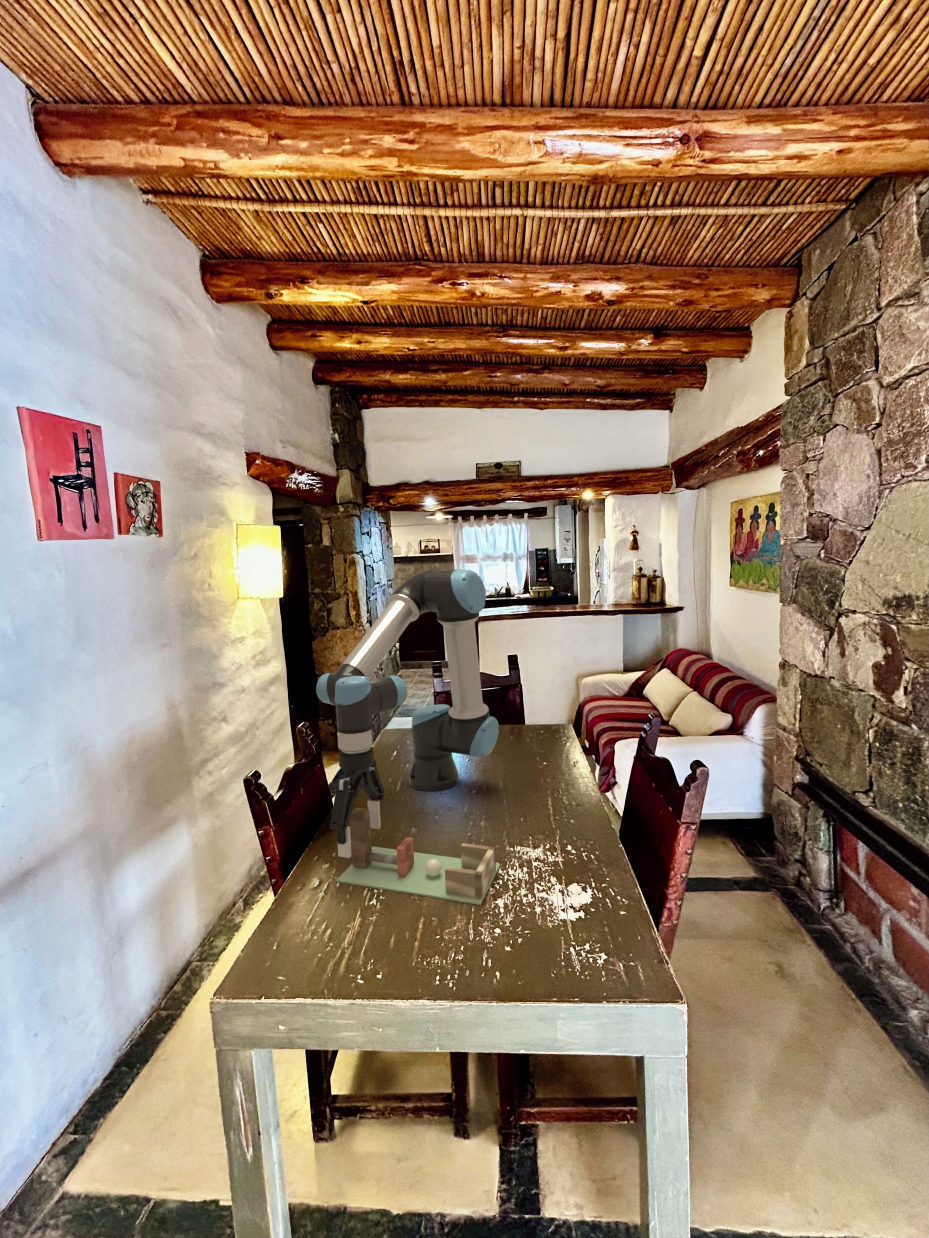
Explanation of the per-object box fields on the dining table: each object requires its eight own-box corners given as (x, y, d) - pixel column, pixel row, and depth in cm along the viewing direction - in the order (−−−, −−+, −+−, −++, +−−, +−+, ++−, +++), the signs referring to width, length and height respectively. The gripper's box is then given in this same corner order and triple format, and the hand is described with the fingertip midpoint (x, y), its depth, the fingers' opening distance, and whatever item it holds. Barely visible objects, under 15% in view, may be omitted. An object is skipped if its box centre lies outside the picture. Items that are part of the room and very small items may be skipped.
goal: (463, 864, 128) (462, 843, 128) (495, 869, 126) (495, 847, 126) (445, 893, 118) (444, 869, 117) (480, 898, 116) (480, 874, 115)
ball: (429, 869, 127) (428, 854, 126) (444, 872, 126) (443, 856, 125) (423, 878, 124) (422, 862, 123) (438, 880, 122) (437, 865, 122)
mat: (369, 847, 138) (369, 845, 138) (500, 865, 128) (500, 863, 128) (336, 881, 124) (336, 879, 124) (480, 905, 114) (480, 903, 114)
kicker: (361, 856, 133) (358, 805, 132) (414, 864, 129) (411, 811, 127) (350, 867, 128) (347, 815, 127) (404, 876, 124) (402, 822, 123)
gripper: (367, 730, 140) (371, 815, 142) (308, 766, 117) (314, 867, 119) (395, 732, 138) (399, 819, 140) (341, 769, 114) (347, 872, 116)
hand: (360, 841), depth 129 cm, fingers open, 13 cm apart
